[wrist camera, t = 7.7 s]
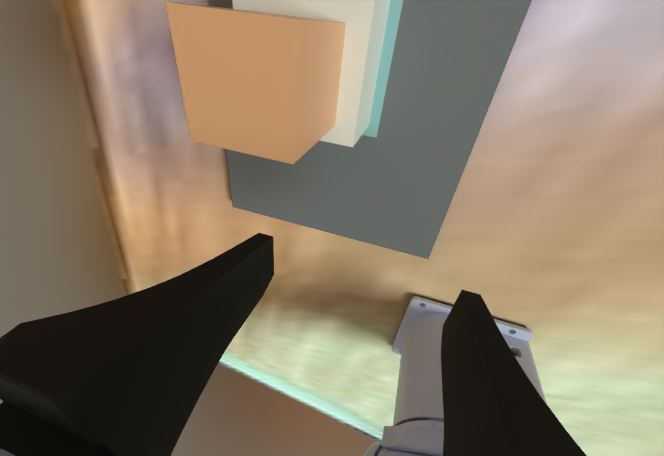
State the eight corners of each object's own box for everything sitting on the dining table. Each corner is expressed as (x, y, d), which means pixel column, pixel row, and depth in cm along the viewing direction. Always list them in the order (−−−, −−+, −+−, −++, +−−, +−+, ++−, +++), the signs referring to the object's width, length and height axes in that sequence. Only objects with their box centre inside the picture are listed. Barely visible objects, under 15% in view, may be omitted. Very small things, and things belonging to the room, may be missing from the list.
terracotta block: (345, 22, 11) (297, 19, 7) (334, 125, 14) (293, 164, 10) (253, 10, 12) (165, 1, 8) (258, 110, 14) (191, 140, 11)
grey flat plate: (528, -3, 13) (533, -5, 12) (428, 252, 22) (428, 259, 21) (213, -36, 16) (204, -39, 15) (237, 202, 25) (232, 206, 24)
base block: (390, -3, 14) (376, -12, 11) (368, 125, 17) (352, 147, 14) (274, -16, 15) (230, -28, 12) (275, 107, 18) (241, 124, 15)
